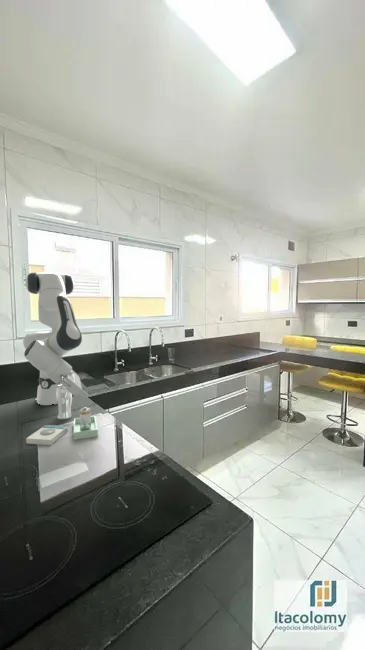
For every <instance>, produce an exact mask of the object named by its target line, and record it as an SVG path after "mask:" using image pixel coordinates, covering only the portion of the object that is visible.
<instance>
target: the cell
mask: <svg viewBox="0 0 365 650" xmlns="http://www.w3.org/2000/svg"><path fill="white" fill-rule="evenodd" d="M91 416H92V408H90V407H87V406H84V407H82V408H80V409H79V418H80V431H86V430H91Z"/></svg>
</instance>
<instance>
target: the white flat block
mask: <svg viewBox="0 0 365 650" xmlns="http://www.w3.org/2000/svg"><path fill="white" fill-rule="evenodd" d="M67 432H68V426H66V425H55V424H54V425H53V424H44V425H43V426H42V427H41V428H39V429H38V430H36V431H35V432H33V433H32V434H31V435H29V436H28V437H26V438H25V439H26V440H25V441H26V442H25V443H26V444H29V445H45V446H46V445H47V446H52V445H53V444H54V443H56V442H57V441H58V440H59V439H60V438H61V437H62V436H64V435H65V434H66V433H67Z"/></svg>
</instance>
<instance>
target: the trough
mask: <svg viewBox="0 0 365 650" xmlns="http://www.w3.org/2000/svg"><path fill="white" fill-rule="evenodd" d="M98 432H99V431H98V424H97V416H96V415H91V430H86V431H80V417H75V418H73V433H72V435H73V440H74V441H75V440H79V439H80V440H81V439H89V438H95V437H99V434H98Z"/></svg>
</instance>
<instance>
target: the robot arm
mask: <svg viewBox="0 0 365 650" xmlns="http://www.w3.org/2000/svg"><path fill="white" fill-rule="evenodd" d="M25 287H26V289H27V291H28V292H29V293H30V294H34V295H38V303H37V304H38V308H37V309H38V321H39V322H40V323H41V324H43V325H45V326H47V327H49V328H50V329H51V330H50V331H34V332H30V333H26V335H25V336H24V337H23V341H22V343H23V346H24V349H25V350H24V357H25V359H26V360H27V361H28V363H30V364H31V365H32V366H33V367H34V368H36V369H37V370H38V371H39V377H38V384H39V385H37V392H36V397H35V400H37V401H36V404H37V403H38V405H39V404H40V406H53V405H52V404H54V405H58V404H57V398H56V392H57V386H59V385H63V386H64V387H65V388H66V389H67V390H68V391H69V392H70V393H72V394H73V395H74V396H75V397H77V396H80V397H83V398H84V399H87V398H89V393H88V392H86V391H87V389H88V388H87V387H86V386H85V385H84V383H83V382H82V381H81V378H80V376H79V375H78V373H77V372H75V370H73V366H72V365H71V364H69V363H68V362H67V361H66V360H64V359H63V358H62V357H63V356H65V355H66V354H68V353H69V352H70V351H72V350H75V349H76V348H78V347H79V346H81V343H82V342H83V341H82V340H83V339H82V337H83V336H82V332H81V331H80V329H79V327H78V323H77V320H76V316H75V313H74V308H73V306H72V303H71V300H70V299H69V297H67V295H70V294H72V293H73V290H74V289H75V288H74V287H75V282H74V279H73V276H72V275H70V274H69V273H67V274H66V273H58V272H29V273H28V275H27V277H26V278H25ZM74 396H73V397H74Z"/></svg>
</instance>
